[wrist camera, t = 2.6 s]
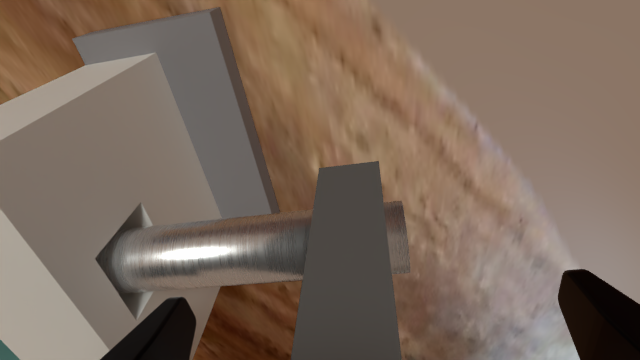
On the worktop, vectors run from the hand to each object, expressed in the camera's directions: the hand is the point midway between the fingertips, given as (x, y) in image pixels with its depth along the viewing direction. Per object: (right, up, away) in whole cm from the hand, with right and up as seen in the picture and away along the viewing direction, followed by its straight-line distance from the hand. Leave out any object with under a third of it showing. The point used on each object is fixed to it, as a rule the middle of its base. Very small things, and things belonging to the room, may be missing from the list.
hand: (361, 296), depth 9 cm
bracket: (-6, +4, +9) cm, 12 cm away
